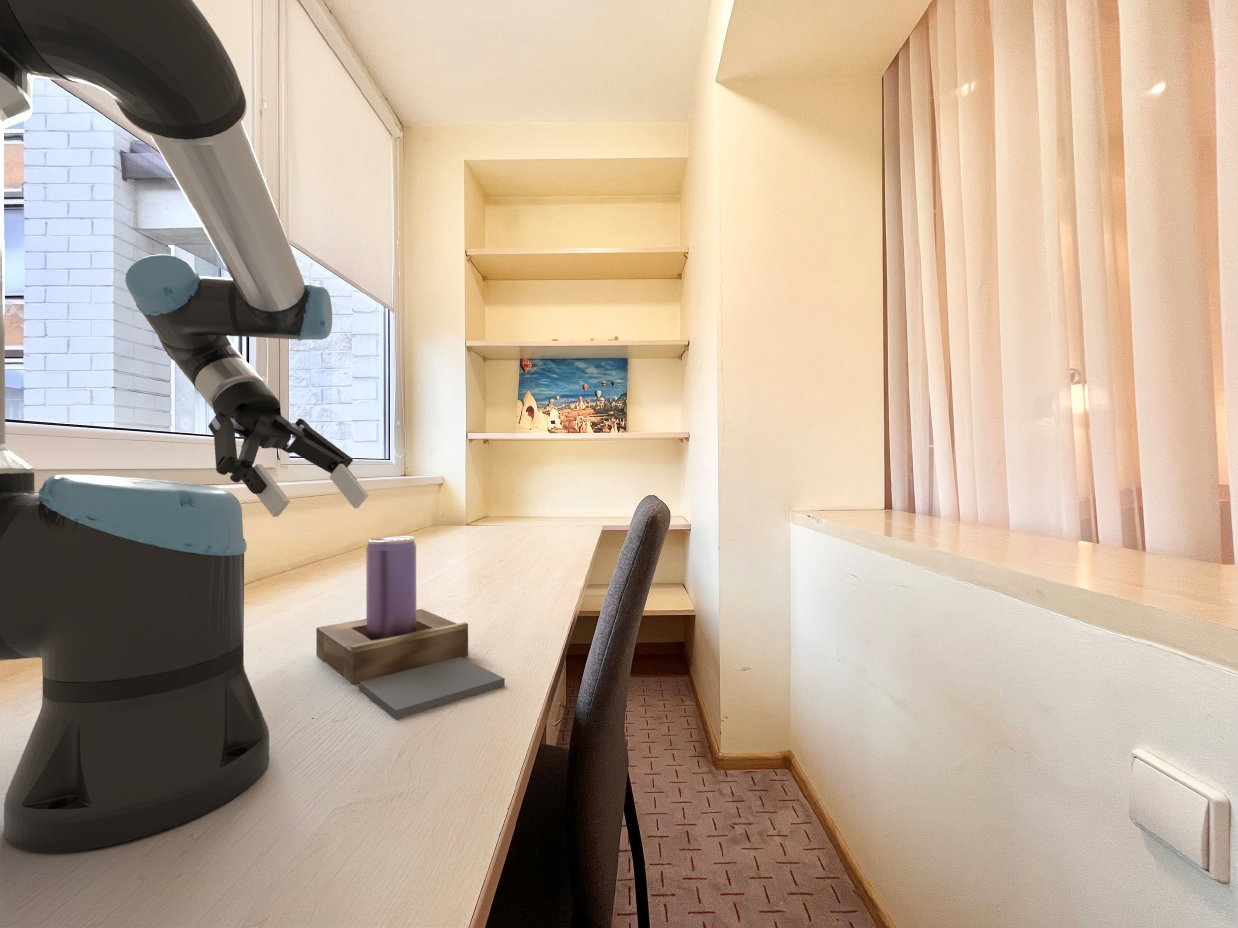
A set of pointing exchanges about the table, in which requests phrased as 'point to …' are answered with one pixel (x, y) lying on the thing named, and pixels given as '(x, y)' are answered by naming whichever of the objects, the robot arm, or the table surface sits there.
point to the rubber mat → (429, 686)
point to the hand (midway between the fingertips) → (325, 505)
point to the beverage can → (390, 586)
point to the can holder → (390, 647)
